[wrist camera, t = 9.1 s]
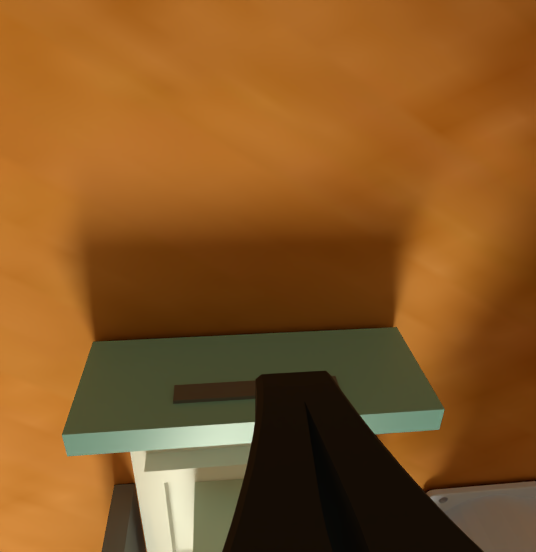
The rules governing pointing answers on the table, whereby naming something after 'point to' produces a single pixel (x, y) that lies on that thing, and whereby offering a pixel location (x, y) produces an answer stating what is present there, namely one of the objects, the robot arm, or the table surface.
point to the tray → (225, 406)
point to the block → (214, 513)
